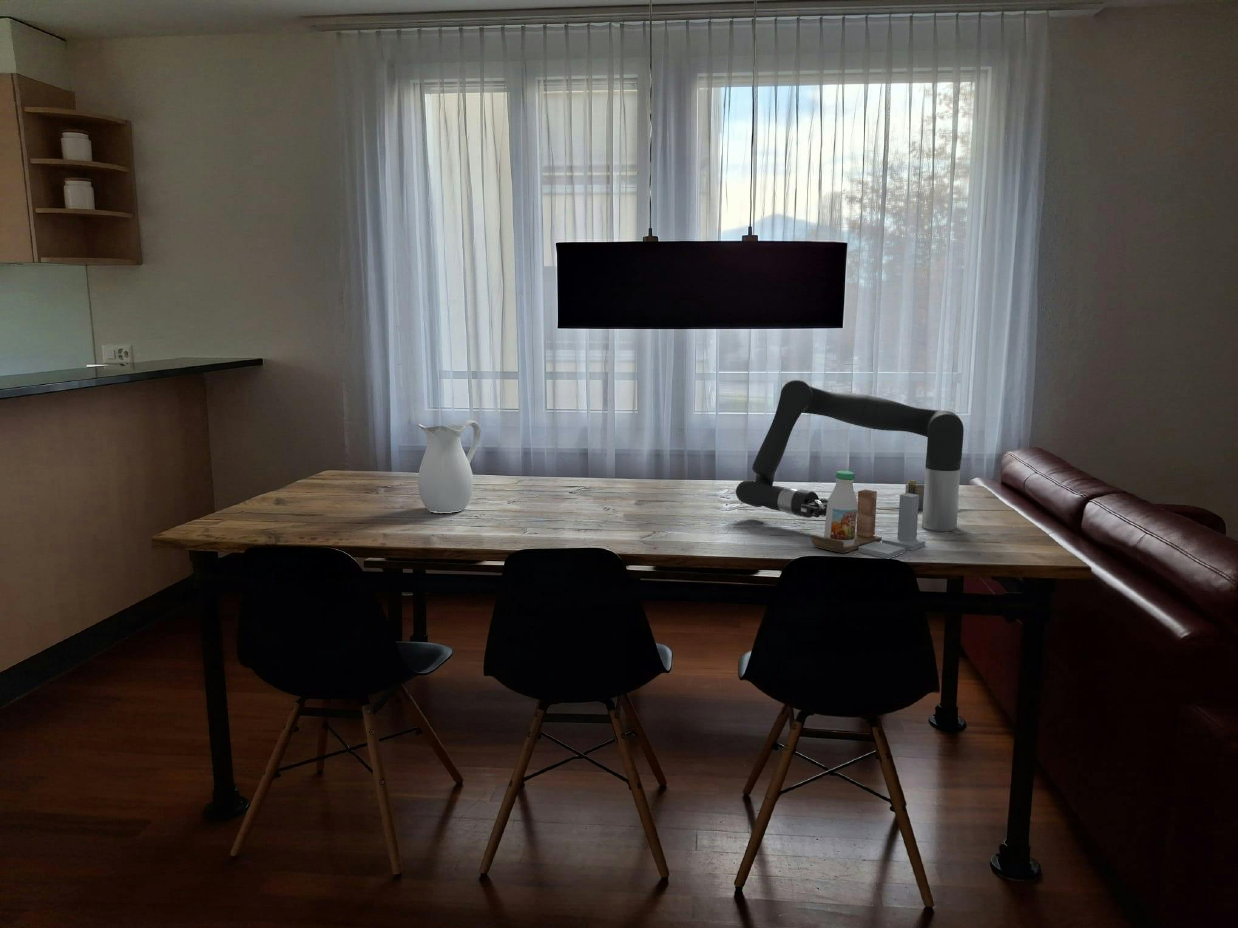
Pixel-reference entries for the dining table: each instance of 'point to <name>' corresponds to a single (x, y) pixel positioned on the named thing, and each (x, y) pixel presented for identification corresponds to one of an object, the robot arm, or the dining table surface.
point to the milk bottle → (842, 510)
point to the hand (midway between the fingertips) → (847, 511)
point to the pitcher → (447, 467)
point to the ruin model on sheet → (916, 490)
